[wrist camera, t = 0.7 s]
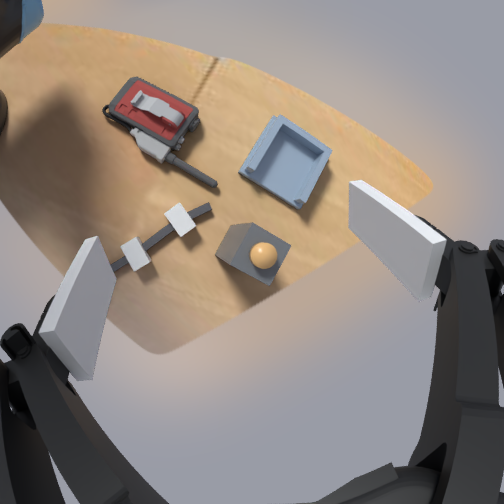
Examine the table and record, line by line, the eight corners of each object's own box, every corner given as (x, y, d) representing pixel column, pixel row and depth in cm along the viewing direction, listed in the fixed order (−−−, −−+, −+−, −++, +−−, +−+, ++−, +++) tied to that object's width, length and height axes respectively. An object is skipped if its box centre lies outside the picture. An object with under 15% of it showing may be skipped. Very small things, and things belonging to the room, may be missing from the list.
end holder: (237, 172, 39) (242, 167, 36) (271, 117, 39) (278, 109, 36) (297, 209, 41) (307, 207, 38) (326, 154, 42) (336, 149, 39)
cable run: (102, 262, 35) (98, 264, 33) (199, 190, 38) (200, 187, 36) (119, 285, 36) (115, 288, 34) (215, 213, 39) (217, 212, 36)
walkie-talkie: (95, 126, 34) (211, 194, 39) (86, 115, 30) (215, 189, 34) (131, 79, 34) (244, 142, 39) (127, 65, 30) (252, 133, 35)
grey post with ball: (214, 254, 39) (231, 266, 26) (230, 225, 39) (255, 222, 26) (243, 270, 40) (273, 288, 27) (259, 241, 40) (296, 246, 28)
